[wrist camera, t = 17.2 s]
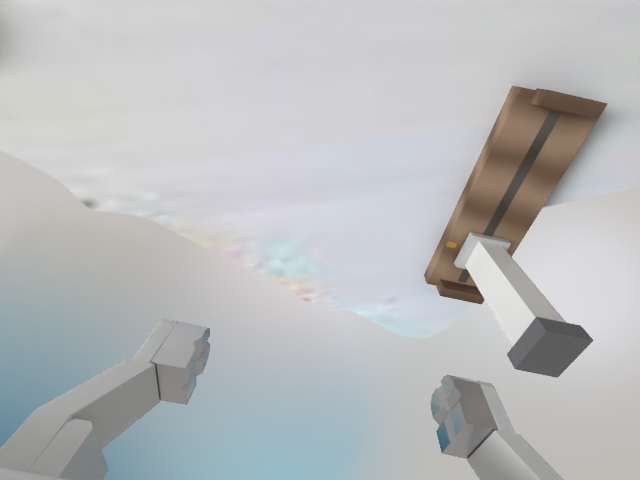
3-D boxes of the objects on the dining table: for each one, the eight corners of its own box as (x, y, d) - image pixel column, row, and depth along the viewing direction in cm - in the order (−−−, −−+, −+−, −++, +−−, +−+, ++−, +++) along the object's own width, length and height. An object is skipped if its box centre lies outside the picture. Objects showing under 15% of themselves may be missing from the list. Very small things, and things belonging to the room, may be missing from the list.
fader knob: (470, 231, 39) (540, 329, 25) (507, 239, 39) (599, 341, 25) (453, 262, 42) (509, 368, 27) (489, 270, 42) (562, 378, 27)
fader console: (513, 84, 32) (533, 86, 29) (593, 102, 33) (622, 106, 29) (423, 276, 46) (429, 293, 42) (481, 288, 46) (491, 306, 43)
